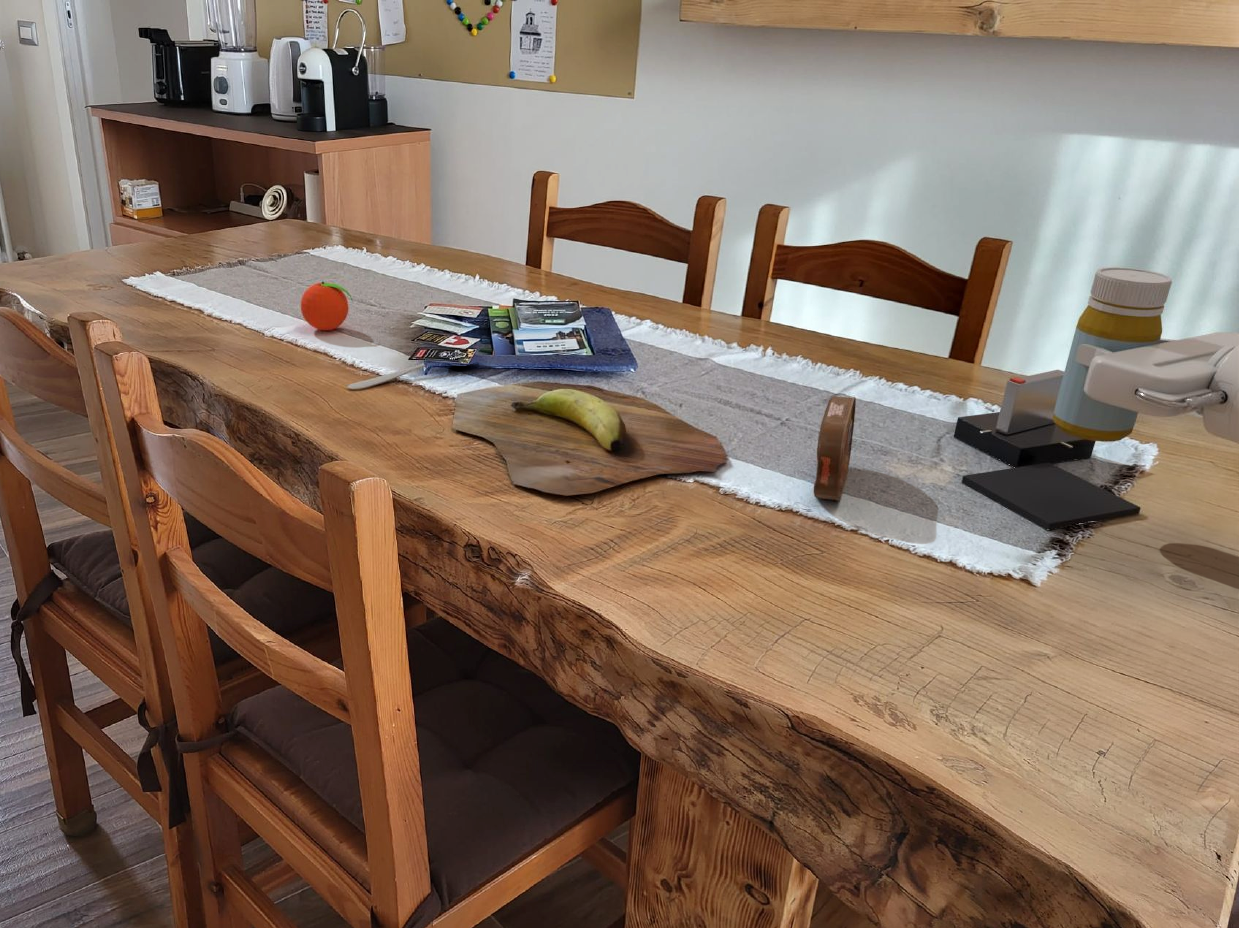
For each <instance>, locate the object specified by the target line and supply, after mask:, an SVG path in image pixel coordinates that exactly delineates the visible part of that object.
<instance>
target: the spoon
mask: <svg viewBox="0 0 1239 928" xmlns="http://www.w3.org/2000/svg"><path fill="white" fill-rule="evenodd" d="M425 367H426V366H425V365H424V364H423V363H420V364H417V365H414V366H410V367H407V368H404V369H401V370H397V371H394V372H391V373H387V374H384V375H380V376H377V377H373V378H369V379H365V380H362V381H357V382H353V383H350V384H348V385H347V386H346V388H347V390H350V391H359V390H364V389H368V388H371V387H374V386H378V385H380V384H384V383H386V382H390V381H393V380H395V379H397V378H399V377H402V376H405V375H406V374H409V373H411V372H414V371H416V370H419V369H422V368H425Z"/></svg>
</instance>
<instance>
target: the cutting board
mask: <svg viewBox="0 0 1239 928" xmlns="http://www.w3.org/2000/svg"><path fill="white" fill-rule="evenodd" d="M452 430H456V431H459V432H463V433H465V434H469V435H472V436H477V437H482V438H483V439H485V440H486V441H489V442H491V443H492V444H494V446H495V448H496V449H497V451H498V453H499V454H500V456H502V458H503V459H504V460H505V463H506V466H507V470H508V471H507V472H508V475H509V478H510V480H511V482H512V484H513V485H516V486H521V487H524V488H527V489H534V490H537V491H540V492H542V493H548V494H554V495H561V496H566V497H567V496H575V495H585V494H595V493H597V492H600V491H603V490H607V489H610V488H613V487H617V486H620V485H622V484H627V483H629V482H632V481H638V480H641V479H645V478H650V477H653V476H658V475H664V474H667V475H669V474H691V473H693V472H712V473H718V470H717V468H718V467H719V466H721V465H722V464H724V463H725V462H727V461H728V460H729V458H728V455H727V454H726V452H725V450H724V449H723V446H722V444H721V442H720V440H719V438H718V437H717V436H716V435H713V434H711V433H710V432H709V433H708V432H706V431H705V430H702V429H701V428H698V427H695V426H694V425H691V424H690V423H688V422H687V421H685V420H682V419H681V418H679V417H677V416H675V415H674V414H672V413H671V412H669V411H668V410H666V409H664V408H663V407H661V406H660V405H658V404H656V403H654V402H652V401H649V400H647V399H645V398H643V397H639V396H635V395H631V394H626V393H622V392H618V391H614V390H608V389H605V388H602V387H599V386H595V385H591V384H586V385H585V384H577V383H576V384H573V383H561V382H549V381H541V380H540V381H539V380H538V381H531V382H530V381H529V382H522V383H514V384H513V383H512V384H506V385H498V386H490V387H485V388H481V389H475V390H471V391H465V392H460V393H457V394H456V400H455V407H454V414H453V420H452Z"/></svg>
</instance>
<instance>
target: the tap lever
mask: <svg viewBox="0 0 1239 928" xmlns="http://www.w3.org/2000/svg"><path fill="white" fill-rule="evenodd" d="M1064 372H1065V370H1064V371H1063V370H1061V369H1053V370H1049V371H1045V372H1039V373H1036V374H1031V375H1025V376H1021V377H1017V376H1013V377H1009V379H1008V380H1007V381H1006V386H1005V389H1004V393H1003V397H1002V401H1001V405H1000V410H999V412H1000V413H999V417H998V421H997V425H996V429H995V430H996V431H998V432H1000V433H1003V434H1006V435H1009V434H1013V433H1017V432H1021V431H1025V430H1029V429H1033V428H1036V427H1040V426H1044V425H1048V424H1052V423H1055V422H1054V421H1053V415H1054V410H1055V406H1056V402H1057V398H1058V394H1059V391H1060V387H1061V383H1062V379H1063V375H1064Z"/></svg>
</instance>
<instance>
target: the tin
mask: <svg viewBox="0 0 1239 928" xmlns="http://www.w3.org/2000/svg"><path fill="white" fill-rule="evenodd" d="M856 399H857V398H856V397H855V396H853V397H844V396H831V397H830V398H829V400H828V402H827V405H826V408H825V410H824V413H823V416H822V420H821V423H820V427H819V433H818V438H817V446H816V460H817V461H816V463H817V465H816V477H815V482H814V484H813V497H815V498H817V499H823V500H832V501H837V502H840V501H841V500H842V496H843V491H844V488H845V484H846V480H847V475H848V472H849V466H850V460H851V454H852V453H851V452H852V445H853V437H854V436H853V435H854V428H855V419H856V406H857V405H856V403H857V400H856Z"/></svg>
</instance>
